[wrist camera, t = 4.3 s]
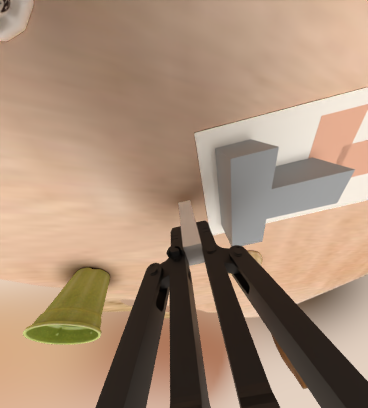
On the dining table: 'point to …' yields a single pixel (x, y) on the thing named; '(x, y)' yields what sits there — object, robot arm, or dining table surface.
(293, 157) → the board
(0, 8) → the decorative candle
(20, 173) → the dining table surface
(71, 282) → the plant pot
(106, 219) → the dining table surface
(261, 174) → the T block
